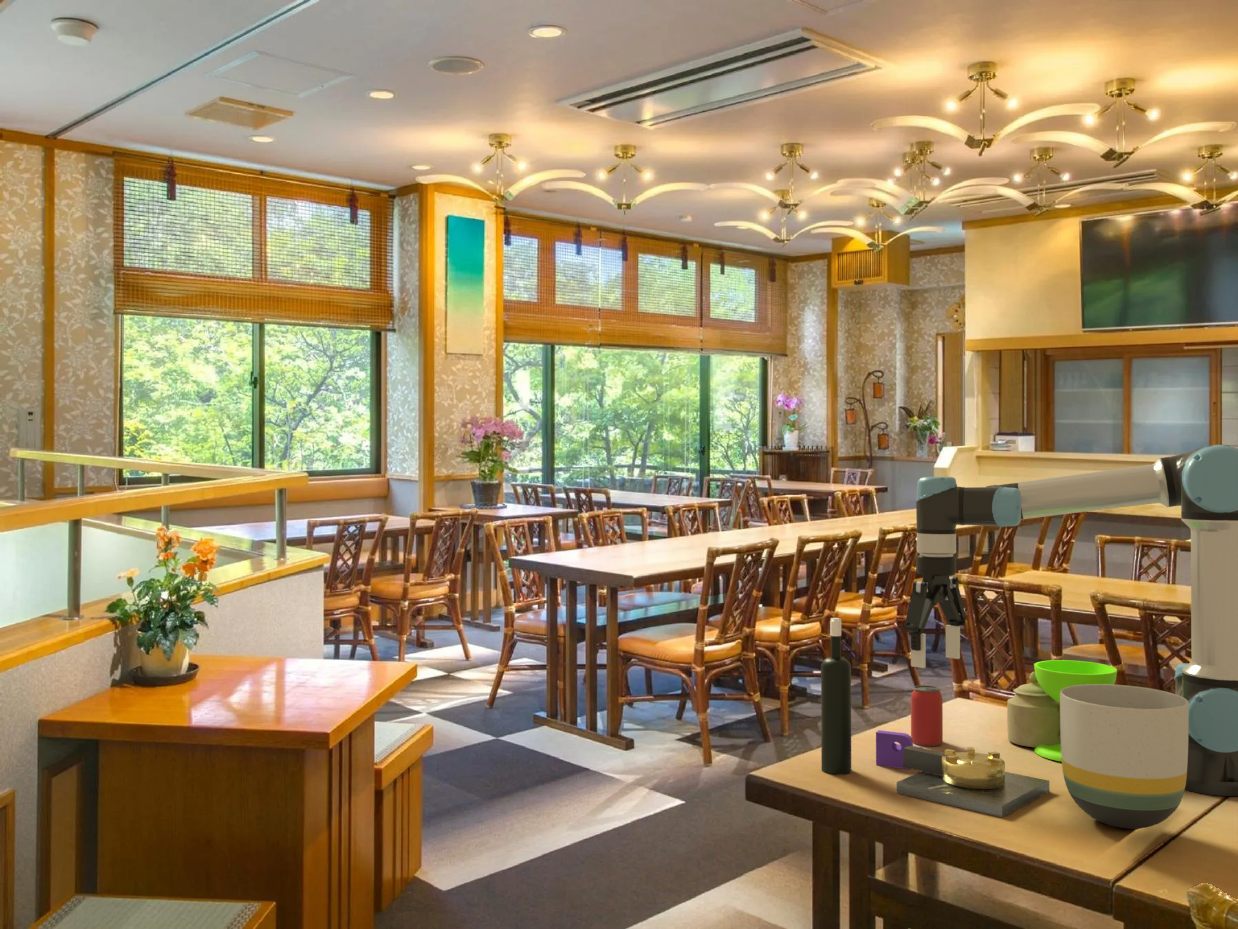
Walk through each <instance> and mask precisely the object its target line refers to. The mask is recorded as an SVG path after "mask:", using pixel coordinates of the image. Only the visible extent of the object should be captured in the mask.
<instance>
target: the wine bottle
mask: <svg viewBox="0 0 1238 929" xmlns="http://www.w3.org/2000/svg"><path fill="white" fill-rule="evenodd" d="M829 624H830V625H829V626H830V627H829V628H830V629H829V635H830V657H826V658H825V659H823V661H822V662H821V664H820V671H821V672H820V677H821V678H820V688H821V690H820V693H821V696H820V698H821V699H820V700H821V702H820V704H821V705H820V707H821V708H820V709H821V710H820V711H821V712H820V713H821V714H820V715H821V718H820V719H821V722H820V723H821V724H820V726H821V730H820V731H821V733H820V734H821V743H820V744H821V745H820V747H821V748H820V749H821V750H820V751H821V757H820V758H821V771H822V772H824V773H826V774H830V775H848V774H850V773H851V772H852V666H851V663H850V661H849V660H848V659H846V658H844V657H842V618H839V617H830V621H829Z"/></svg>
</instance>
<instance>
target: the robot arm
mask: <svg viewBox="0 0 1238 929" xmlns="http://www.w3.org/2000/svg"><path fill="white" fill-rule="evenodd" d="M916 484H917V485H916V486H917V487H916V499H915V505H916V506H915V511H916V517H915V518H916V519H915V520H916V537H915V541H916V552H917V553H918V554H919V555H917V556H916V560H915V562H916V568H915V569H916V570H915V571H916V573H917V574H918V575H919V576H922V580H921V581H916V580H914V581H913V583H912V589H911V590H912V592H911V597H910V601H909V604H908V609H907V613H906V616H905V617H906V618H905V621H904V625H903V630H904V631H905V633H909V634H910V666H911V667H914V668H921V669H926V667H927V666H926V665H927V664H926V661H927V660H926V650H927V649H926V643H927V642H926V640H927V638H926V637H927V636H926V635H927V634H926V633H924V630H925V628H926V627H927V626H926V625H927V623H928V621H929V619H930V615H931V613H932V610H933V607H935V606H937V604H939V605H940V608H941V611H942V612H943V614H944V616H945V619H946V621H947V623H948V624H946V625H945V658H947V659H954V660H960V659H961V626H962V627H964V626H966V621H967V616H966V611H965V608H964V604H963V603H964V602H963V600H962V594H961V591H960V586H959V578H958V577H957V576H955V575H956V574H957V558H956V557H955V554H956V553H957V526H979V527H982V526H984V527H1000V528H1004V527H1017V526H1019V525H1020V524H1021V521H1022V520H1025V519H1034V518H1035V519H1036V518H1041V517H1042V518H1043V517H1044V518H1045V517H1050V516H1051V517H1052V516H1060V515H1067V514H1069V515H1070V514H1076V513H1085V512H1095V511H1101V510H1103V511H1104V510H1110V509H1118V508H1119V509H1120V508H1128V507H1137V506H1144V505H1152V504H1161V505H1163V506H1164V507H1166V508H1172V507H1180V508H1181V509H1180V511H1181V513H1180V514H1181V516H1180V517H1181V519H1180V520H1181V521H1182V522H1183V523H1184V524H1185V526H1187V527H1188V528H1189V529H1190V595H1191V596H1190V600H1191V601H1190V605H1191V606H1190V611H1191V612H1190V613H1191V614H1190V616H1191V617H1190V618H1191V620H1190V621H1191V623H1190V625H1191V627H1190V628H1191V631H1190V632H1191V633H1190V634H1191V635H1190V636H1191V638H1190V639H1191V641H1190V642H1191V646H1190V647H1191V661H1190V662H1189V663H1188V662H1187V663H1184V662H1183V663H1179V664H1178V665H1177V666H1176V667H1175V674H1174V678H1173V680H1174V681H1175V684H1174V685H1175V694H1176V695H1179V696H1181V697H1183V698H1185V699H1186V700H1187V701H1188V703H1189V725H1188V762H1187V778H1186V786H1185V790H1184V791H1189V792H1193V793H1197V794H1202V795H1210V796H1218V797H1219V796H1220V797H1238V448H1237V447H1235V446H1231V445H1227V444H1213V445H1206V446H1203V447H1198V448H1196V449H1193V450H1191V451H1187V452H1185V453H1179V454H1176V455H1172V456H1171V455H1170V456H1165V457H1160V458H1157V459H1156V461H1154V463H1152V464H1144V465H1138V466H1131V467H1130V466H1129V467H1123V468H1116V469H1109V470H1107V469H1106V470H1101V471H1093V472H1085V473H1078V474H1072V475H1070V474H1069V475H1063V476H1057V477H1056V476H1055V477H1048V478H1043V479H1034V480H1028V481H1027V480H1026V481H1018V482H1012V483H1003V484H992V485H987V486H982V487H981V486H979V487H978V486H975V487H974V486H973V487H966V486H958V484H957V479H956V478H955V477H954V476H953V477H952V476H922V477H920V478H918V481H917V483H916Z"/></svg>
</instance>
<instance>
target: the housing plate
mask: <svg viewBox="0 0 1238 929" xmlns="http://www.w3.org/2000/svg"><path fill="white" fill-rule="evenodd" d="M1049 792H1050V780H1048V779H1044V778H1038V777H1033V776H1028V775H1022V774H1018V773H1014V772H1008V771H1005V784H1004V785H1003V786H1001V787H997V788H990V789H975V788H966V787H960V786H956V785H952V784H950V783H947V782H945V781H944V780H943V779H942V775H939V774H934V773H929V772H925V771H919V772H916V773H915V774H912V775H910V776H907V777H906V778H903V779H901V780H899V781H897V782H896V794H900V795H903V796H908V797H912V798H917V799H919V800H920V799H921V800H926V801H929V802H933V803H937V804H938V803H939V804H943V805H947V806H951V807H955V808H959V809H962V810H967V811H968V810H969V811H973V812H976V813H981V814H986V815H990V816H993V817H998V818H1004V817H1006V816H1007V815H1009V814H1011V813H1013V812H1015V811H1017V810H1019V809H1020V808H1022V807H1024V806H1026V805H1029V803H1031V802H1034V801H1035V800H1036V799H1038V798H1040V797H1042V796H1044V795H1047V794H1048V793H1049Z"/></svg>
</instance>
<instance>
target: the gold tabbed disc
mask: <svg viewBox="0 0 1238 929" xmlns="http://www.w3.org/2000/svg"><path fill="white" fill-rule="evenodd" d="M913 746H914V745H913ZM913 746H908V747H905V748H903V767H906V768H910V769H909V770H914V771H915V770H917V771H919V772H922V771H925V772H929V773H934V774H939V775H942V779H943V780H944V781H945V782H947V783H950V784H952V785H956V786H960V787H966V788H975V789H990V788H997V787H1001V786H1003V785H1004V784H1005V772H1006V768H1005V767H1006V763H1005V761H1004V760H1003V758H1001V754H1000V752H997V751H988V754H986V753H982V752H981V753H980V752H976V751H975V750H976V749H975V747H974V746H973V747H971V746H970V747H969V746H967V748H966V749H967V751H966V752H965V751H959V752H958V751H956V750H954V749H950V748H946V749H944V752H943V751H937V750H932V749H928V748H924V747H922V748H918V747H919V746H916V747H913Z"/></svg>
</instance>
